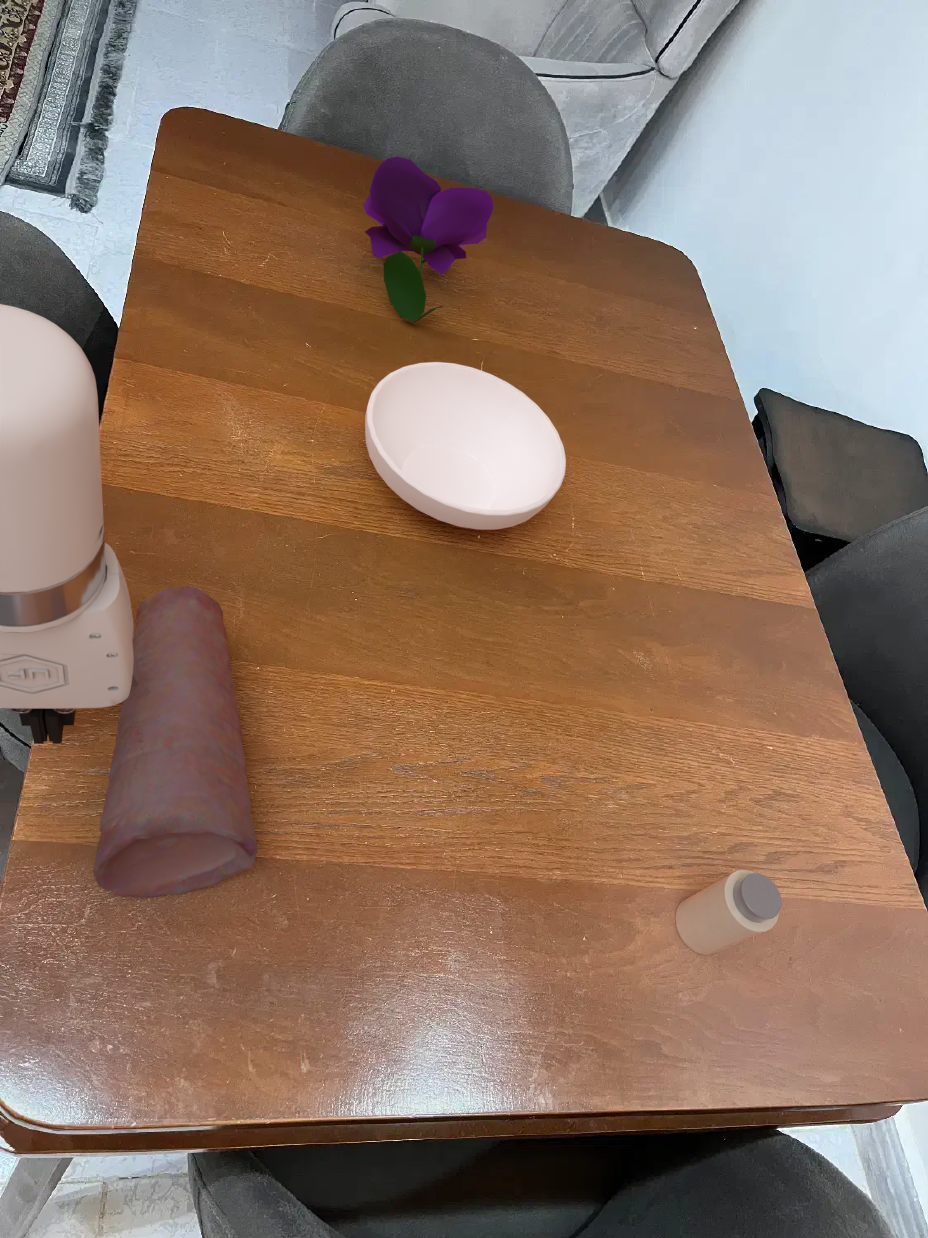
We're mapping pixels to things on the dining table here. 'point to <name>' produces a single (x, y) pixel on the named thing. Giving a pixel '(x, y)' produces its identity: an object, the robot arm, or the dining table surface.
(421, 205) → the flower
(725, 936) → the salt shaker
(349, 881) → the dining table surface
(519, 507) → the bowl
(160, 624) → the brown tapered cylinder
